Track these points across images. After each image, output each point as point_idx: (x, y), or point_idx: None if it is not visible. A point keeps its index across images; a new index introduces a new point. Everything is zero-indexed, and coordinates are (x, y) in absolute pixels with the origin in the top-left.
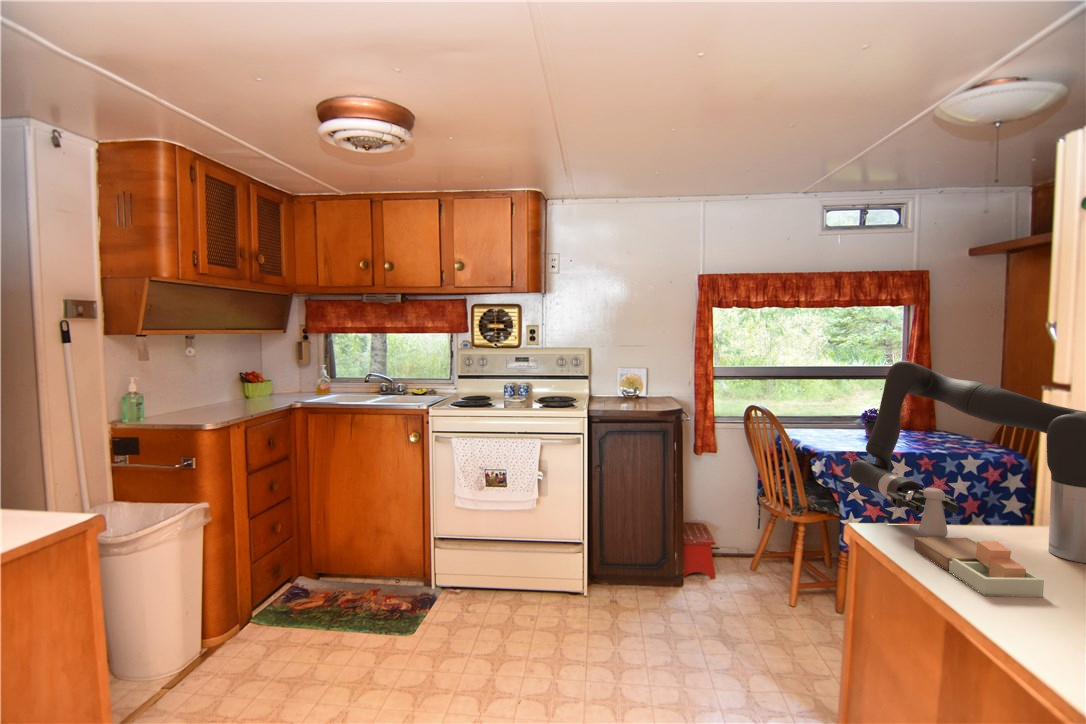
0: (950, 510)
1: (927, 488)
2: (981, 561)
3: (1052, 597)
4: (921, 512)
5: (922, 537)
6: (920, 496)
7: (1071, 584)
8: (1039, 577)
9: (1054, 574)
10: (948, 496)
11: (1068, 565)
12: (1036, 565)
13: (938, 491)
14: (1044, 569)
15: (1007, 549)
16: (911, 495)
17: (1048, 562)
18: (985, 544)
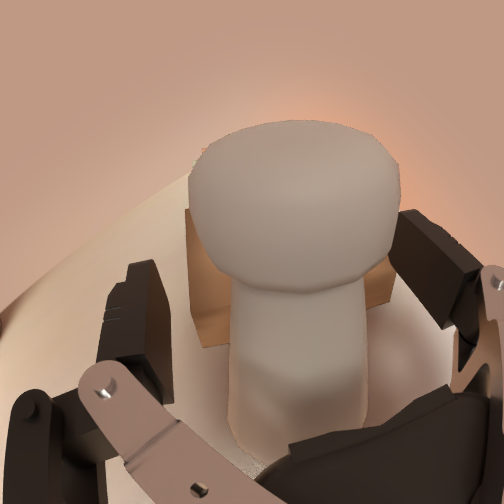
0: (168, 339)
1: (364, 137)
2: None
3: (183, 191)
4: (388, 255)
5: (371, 270)
6: (405, 441)
7: (108, 230)
8: (192, 164)
9: (95, 256)
10: (21, 474)
11: (25, 299)
12: (87, 286)
13: (270, 123)
14: (91, 271)
15: (205, 148)
16: (501, 320)
17: (45, 306)
18: None
